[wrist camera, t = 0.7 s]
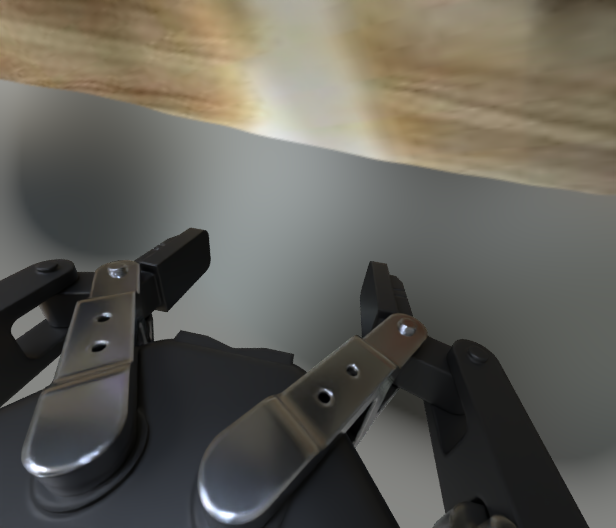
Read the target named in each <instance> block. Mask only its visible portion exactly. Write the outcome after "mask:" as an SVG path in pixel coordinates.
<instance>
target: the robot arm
mask: <svg viewBox="0 0 616 528" xmlns="http://www.w3.org/2000/svg"><path fill="white" fill-rule="evenodd" d="M210 261H211V257H210V245H209V235H208V232H207V231H206V230H201V229H196V228H189V229H188V230H186V231H185V232H183V233H181V234H180V235H178V236H175V237H172V238H169V239H167V240H166V241H164V242H162V243H161V244H160V245H158V246H156V247H155V248H154V249H152V250H150V251H148V252H147V253H145V254H144V255H142V256H141V257H139V258H138V259H136V260H135V261H130V260H120V261H114V262H110V263H107V264H104V265H102V266H101V267H99V268H98V269H97V270H96V271H95V272H77V270H76V268H75V266H74V263H73V262H72V261H69V260H63V259H56V260H48V261H43V262H40V263H36V264H34V265H31V266H29V267H27V268H25V269H23V270H21V271H19V272H17V273H15V274H13V275H11V276H9V277H7V278H5V279H3V280H1V281H0V407H1V406H2V405H3V404H4V403H5V402H7V401H8V400H9V399H10V398H11V397H12V396H13V395H15V394H16V393H17V392H18V391H19V390H20V389H22V388H23V387H24V386H25V385H26V384H27V383H28V382H29V381H31V380H32V379H33V378H34V377H35V376H37V375H38V374H39V373H40V372H41V371H42V370H43V369H45V368H46V367H47V366H48V365H49V364H50V363H51V362H53V361H54V360H55V359H56V358H57V357H58V356H59V355H61V356H60V359H59V363H58V366H57V369H56V372H55V376H54V379H53V381H52V383H51V384H50V385H49V386H47V387H45V388H44V389H43V390H40V391H38V392H36V393H33V394H31V395H29V396H27V397H25V398H22V399H20V400H18V401H16V402H14V403H11V404H9V405H7V406H4V407H2V408H0V528H400V527H399V525H398V523H397V521H396V520H395V518H394V516H393V514H392V513H391V511H390V509H389V507H388V506H387V504H386V502H385V500H384V498H383V497H382V495H381V493H380V492H379V490H378V488H377V486H376V484H375V483H374V481H373V479H372V477H371V476H370V474H369V472H368V470H367V469H366V467H365V465H364V463H363V461H362V460H361V458H360V456H359V455H358V453H357V451H356V449H355V448H356V447H357V445H358V444H359V443H360V442H361V440H362V439H363V437H364V436H365V434H366V433H367V431H368V430H369V428H370V427H371V425H372V424H373V422H374V421H375V419H376V418H377V417H378V415H379V414H380V413H381V412H382V410H383V409H384V408H385V406H386V405H387V404H388V403H389V401H390V400H391V399H392V398H393V396H394V395H395V394H396V392H397V391H398V390H399V388H402V389H404V390H406V391H408V392H409V393H412V394H413V395H415V396H417V397H419V398H421V399H423V401H424V406H425V411H426V417H427V422H428V427H429V432H430V437H431V442H432V447H433V452H434V458H435V462H436V468H437V473H438V478H439V482H440V488H441V493H442V498H443V503H444V509H445V515H443V516H442V517H441V518H440V519H439V520H438V521H437V522H436V523H435V524H434V526H433V528H589V526H588V525H587V523H586V521H585V519H584V517H583V515H582V514H581V512H580V510H579V508H578V507H577V504H576V502H575V501H574V499H573V497H572V495H571V493H570V492H569V490H568V488H567V486H566V484H565V482H564V480H563V479H562V477H561V475H560V473H559V471H558V469H557V467H556V466H555V464H554V462H553V460H552V458H551V456H550V455H549V453H548V451H547V449H546V447H545V446H544V444H543V442H542V440H541V438H540V436H539V434H538V433H537V431H536V429H535V427H534V425H533V423H532V421H531V420H530V418H529V416H528V414H527V413H526V411H525V409H524V407H523V405H522V403H521V401H520V399H519V398H518V396H517V394H516V392H515V390H514V389H513V387H512V385H511V383H510V381H509V379H508V377H507V375H506V374H505V372H504V370H503V368H502V366H501V364H500V363H499V361H498V359H497V358H496V357H495V355H494V354H492V352H490V351H489V350H488V349H486V348H485V347H484V346H482V345H480V344H478V343H476V342H473V341H470V340H464V339H460V340H457V341H455V343H454V344H453V345H452V347H451V346H449V345H447V344H444V343H442V342H440V341H437V340H435V339H433V338H431V337H429V336H428V332H427V330H426V328H425V326H424V325H423V324H422V323H421V322H420V321H419V320H417V319H416V318H414V317H413V315H412V312H411V308H410V305H409V302H408V299H407V296H406V293H405V289H404V286H403V283H402V282H401V281H400V280H399V279H398V278H397V277H396V276H393V275H389V271H388V267H387V264H385V263H379V262H374V261H370V263H369V266H368V269H367V272H366V276H365V279H364V283H363V286H362V290H361V295H360V305H361V306H360V307H361V326H362V338H361V337H360V336H358V335H355V336H353V337H352V338H350V339H349V340H348V341H347V342H345V343H344V344H343V345H342V346H340V347H339V348H338V349H336V350H335V351H334V352H333V353H331V354H330V355H329V356H328V357H326V358H325V359H324V360H323V361H321V362H320V363H319V364H318V365H316V366H315V367H314V368H312V369H311V370H310V371H309V372H306V371H305V370H303V369H301V368H300V367H299V366H297V365H295V364H293V357H294V354H290V353H286V352H281V351H277V350H272V349H267V348H232V347H229V346H227V345H225V344H223V343H221V342H219V341H217V340H215V339H213V338H211V337H209V336H205V335H201V334H196V333H191V332H186V331H182V330H181V331H180V332H179V333H178V334H177V336H176V337H175V338H174V339H165V340H159V341H154V331H153V317H152V312H153V311H154V310H158V311H163V312H168V311H169V310H170V309H171V308H172V307H173V305H174V304H175V303H176V302H177V301H178V300H179V299H180V298H181V297H182V296H183V295H184V294H185V293H186V292H187V291H188V290H189V288H191V286H193V284H194V283H195V282H196V281H197V280H198V279H199V278H200V277H201V276H202V275H203V274H204V273H205V272H206V271H207V269H208V268H209V265H210ZM38 305H39V307H40V309H41V311H42V313H43V314H44V316H45V318H46V319H45V320H43V321H42V322H41V323H39V324H38V325H36V326H35V327H33V328H32V329H31V330H30V331H28V332H26V333H25V334H24V335H22V336H21V337H19V338H18V339H16V340H15V339H14V337H13V336H12V334H11V327H12V325H13V323H14V322H15V321H16V320H17V319H18V318H20V317H21V316H23V315H24V314H26V313H28V312H29V311H30V310H32V309H34V308H35V307H37V306H38Z"/></svg>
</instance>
